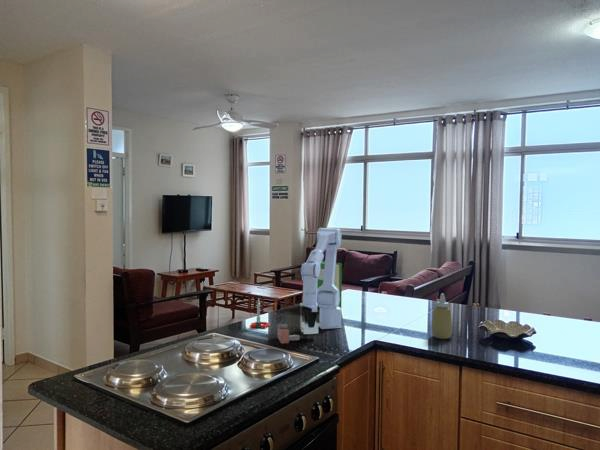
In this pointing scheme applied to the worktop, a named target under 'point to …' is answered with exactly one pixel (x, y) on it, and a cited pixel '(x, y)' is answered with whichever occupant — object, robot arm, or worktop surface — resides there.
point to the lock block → (307, 330)
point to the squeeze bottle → (442, 319)
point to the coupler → (285, 334)
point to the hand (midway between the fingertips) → (309, 325)
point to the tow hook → (258, 323)
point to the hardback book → (336, 280)
